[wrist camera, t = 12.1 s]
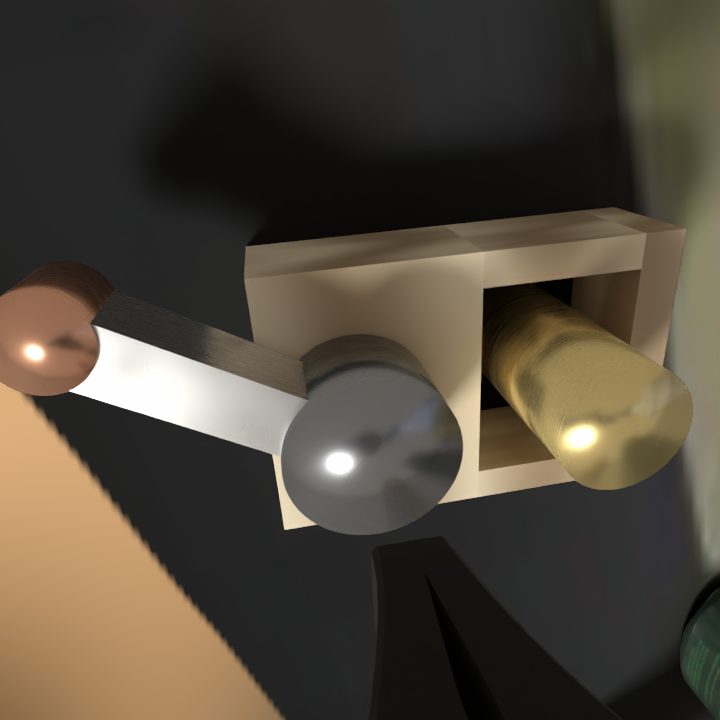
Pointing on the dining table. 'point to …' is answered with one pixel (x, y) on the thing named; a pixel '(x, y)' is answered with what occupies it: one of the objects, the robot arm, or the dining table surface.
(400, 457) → the copper tipped joystick
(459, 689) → the robot arm
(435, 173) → the dining table surface
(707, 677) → the coffee jar
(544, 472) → the birch block
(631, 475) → the brass pin
